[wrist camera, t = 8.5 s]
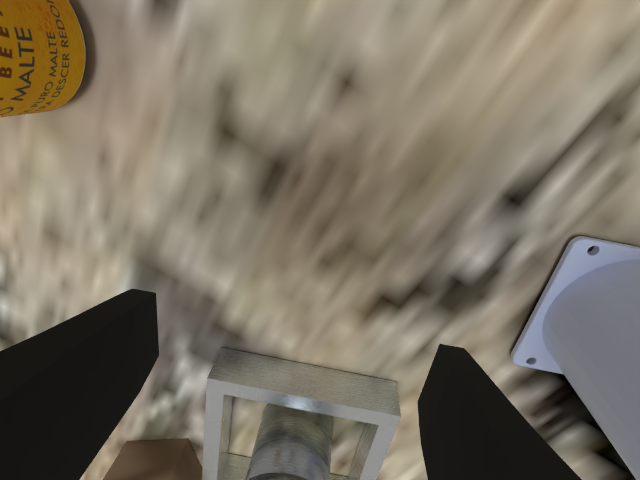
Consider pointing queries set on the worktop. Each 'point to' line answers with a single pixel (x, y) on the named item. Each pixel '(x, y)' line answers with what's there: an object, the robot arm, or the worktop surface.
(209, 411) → the frame
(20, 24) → the beer can
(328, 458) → the grooved metal cylinder
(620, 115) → the worktop surface
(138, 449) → the walnut block
